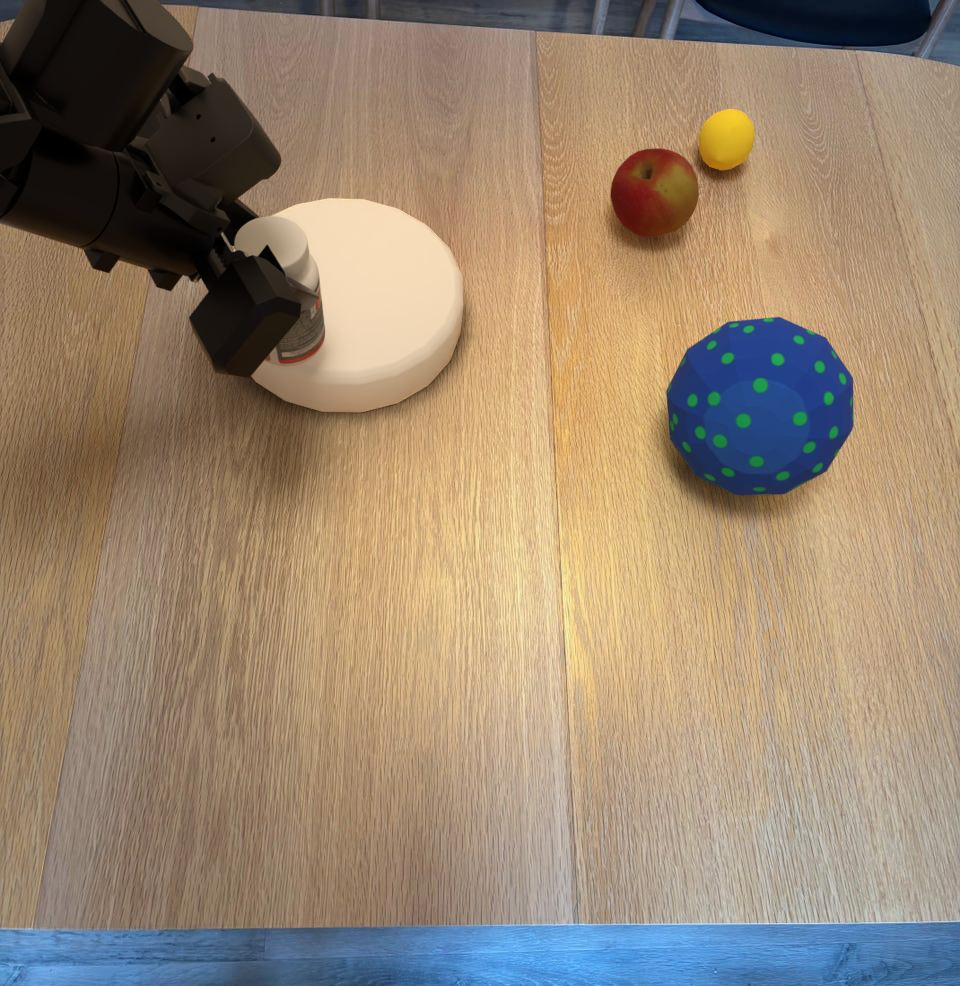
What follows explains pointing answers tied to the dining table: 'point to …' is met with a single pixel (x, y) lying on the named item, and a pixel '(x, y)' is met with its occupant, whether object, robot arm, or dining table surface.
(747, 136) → the lemon
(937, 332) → the dining table surface
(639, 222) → the apple
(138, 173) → the robot arm
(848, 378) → the green-spotted blue ball
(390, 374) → the container
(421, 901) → the dining table surface
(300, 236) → the pill bottle
